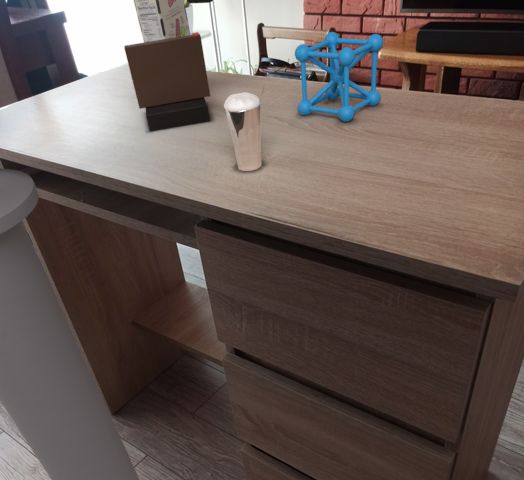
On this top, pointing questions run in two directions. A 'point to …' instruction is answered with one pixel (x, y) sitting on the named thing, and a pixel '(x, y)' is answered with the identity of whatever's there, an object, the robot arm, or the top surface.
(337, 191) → the top surface
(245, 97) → the milkshake
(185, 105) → the frame stand
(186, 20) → the candy bar box
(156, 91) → the frame
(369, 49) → the molecular structure
